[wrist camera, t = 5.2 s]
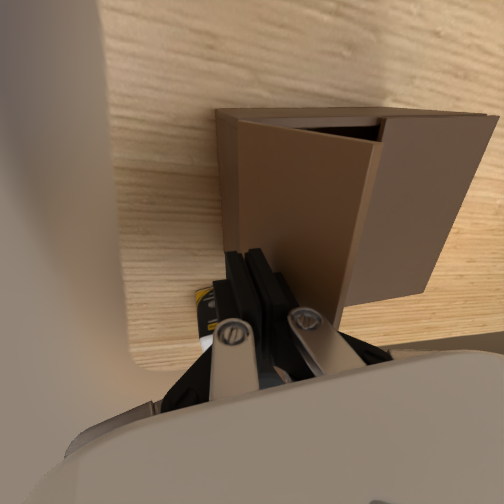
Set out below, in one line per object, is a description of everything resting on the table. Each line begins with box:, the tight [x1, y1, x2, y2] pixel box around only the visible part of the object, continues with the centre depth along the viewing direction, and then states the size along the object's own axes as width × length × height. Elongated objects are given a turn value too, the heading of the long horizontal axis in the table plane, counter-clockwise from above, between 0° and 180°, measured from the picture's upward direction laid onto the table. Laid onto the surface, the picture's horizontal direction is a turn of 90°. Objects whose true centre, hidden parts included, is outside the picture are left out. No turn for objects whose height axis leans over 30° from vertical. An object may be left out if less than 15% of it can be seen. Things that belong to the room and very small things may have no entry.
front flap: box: [237, 120, 383, 384], centre depth 13 cm, size 7×13×1 cm
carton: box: [215, 107, 500, 307], centre depth 21 cm, size 15×13×10 cm
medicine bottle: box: [196, 287, 285, 390], centre depth 26 cm, size 7×7×12 cm
